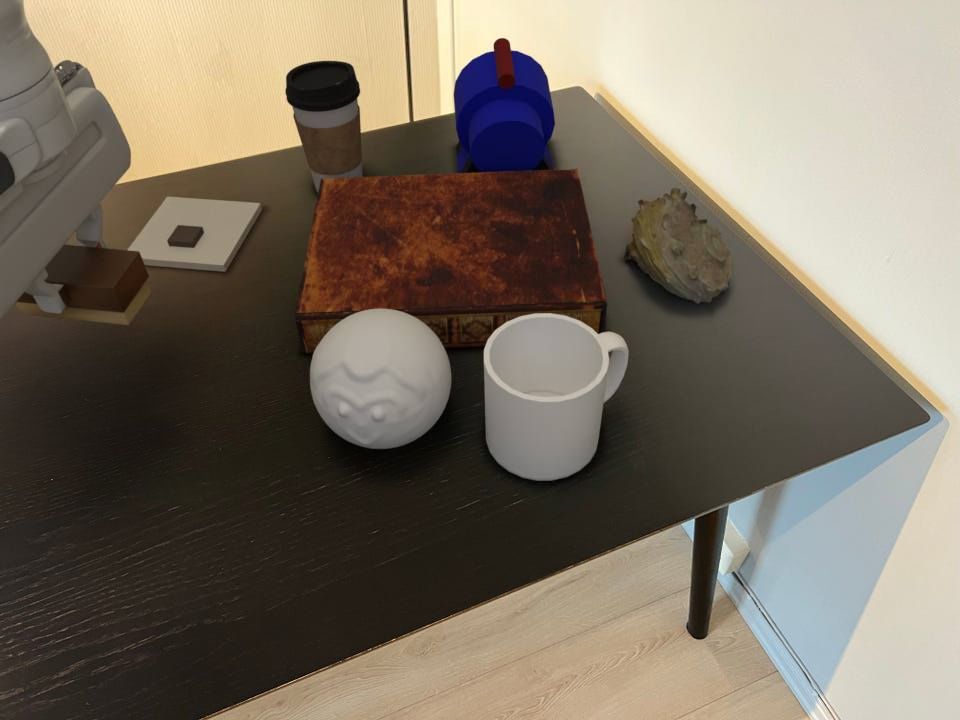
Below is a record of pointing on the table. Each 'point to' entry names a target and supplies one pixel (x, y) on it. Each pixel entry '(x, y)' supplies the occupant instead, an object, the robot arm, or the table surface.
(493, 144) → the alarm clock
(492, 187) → the book
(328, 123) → the coffee cup
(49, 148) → the robot arm
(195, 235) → the dark brown square block
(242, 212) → the tile
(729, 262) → the seashell
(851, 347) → the table surface
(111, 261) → the brown rectangular block
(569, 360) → the mug
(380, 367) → the decorative ball
